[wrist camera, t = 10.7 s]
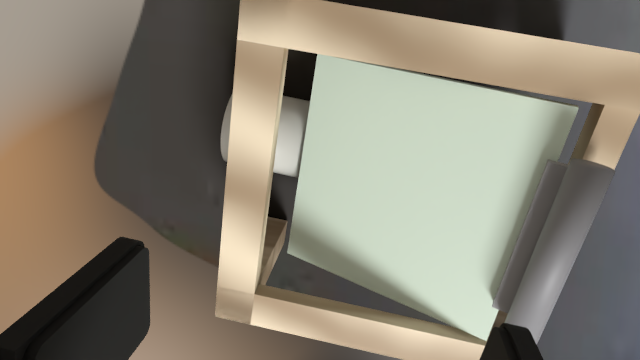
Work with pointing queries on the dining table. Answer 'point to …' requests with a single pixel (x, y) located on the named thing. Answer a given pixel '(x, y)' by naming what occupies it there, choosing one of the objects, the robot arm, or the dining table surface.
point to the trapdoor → (442, 193)
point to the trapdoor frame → (399, 52)
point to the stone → (280, 135)
